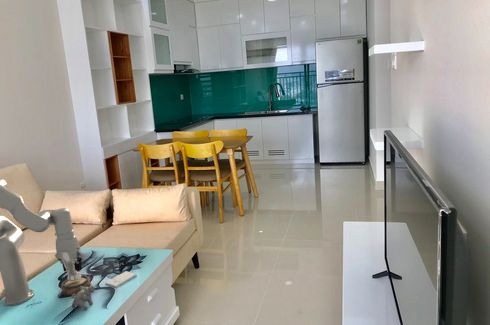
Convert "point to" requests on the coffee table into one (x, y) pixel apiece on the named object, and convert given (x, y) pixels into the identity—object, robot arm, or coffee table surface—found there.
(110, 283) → the external hard drive
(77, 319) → the coffee table surface
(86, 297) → the elephant statuette
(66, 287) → the brown round bowl
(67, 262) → the silver metal cup
